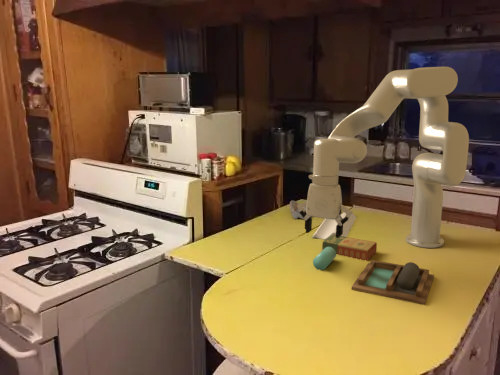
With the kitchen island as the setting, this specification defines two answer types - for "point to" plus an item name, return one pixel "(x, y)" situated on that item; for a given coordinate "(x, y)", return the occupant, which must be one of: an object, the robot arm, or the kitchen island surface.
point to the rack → (392, 282)
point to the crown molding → (333, 227)
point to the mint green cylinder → (324, 258)
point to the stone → (295, 210)
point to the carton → (351, 247)
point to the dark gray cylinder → (408, 276)
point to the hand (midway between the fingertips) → (323, 234)
